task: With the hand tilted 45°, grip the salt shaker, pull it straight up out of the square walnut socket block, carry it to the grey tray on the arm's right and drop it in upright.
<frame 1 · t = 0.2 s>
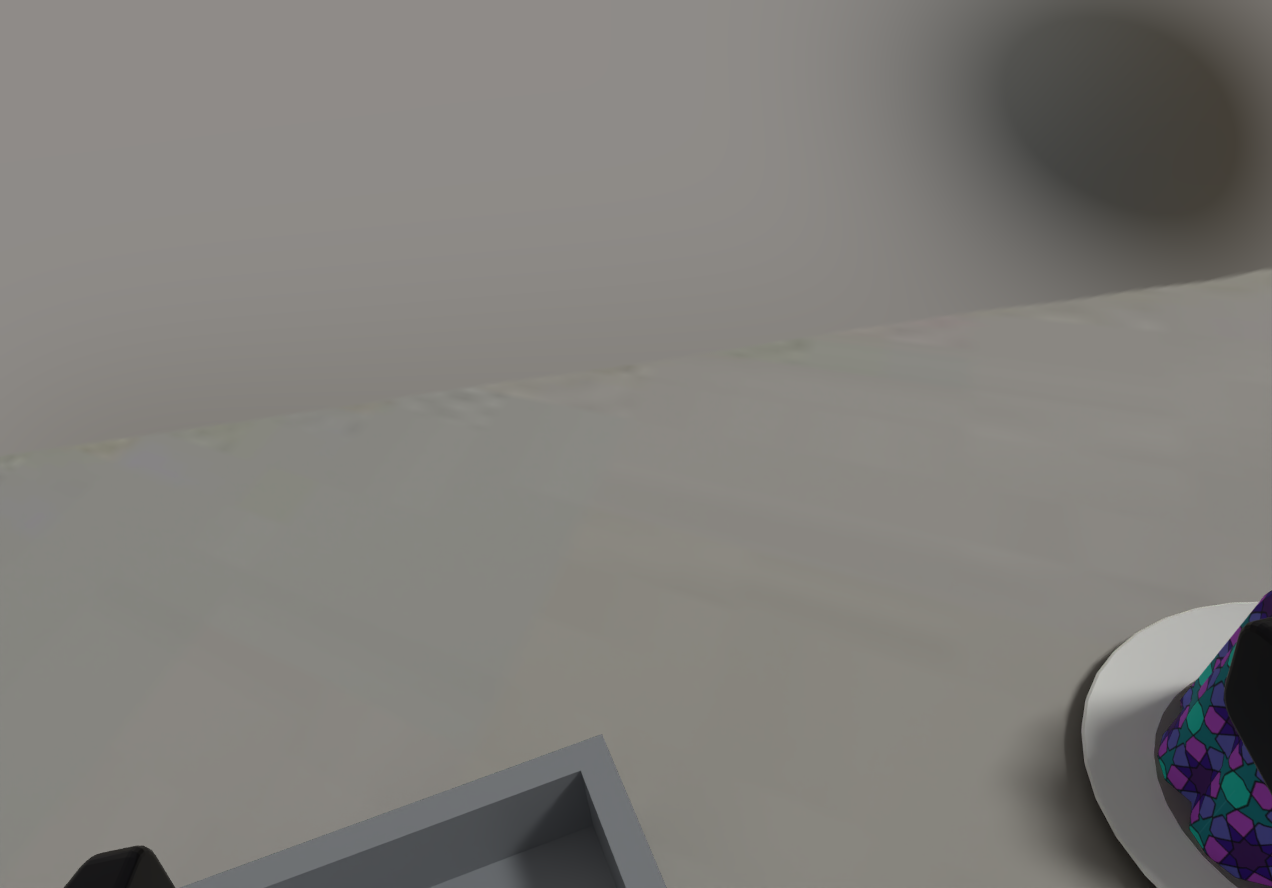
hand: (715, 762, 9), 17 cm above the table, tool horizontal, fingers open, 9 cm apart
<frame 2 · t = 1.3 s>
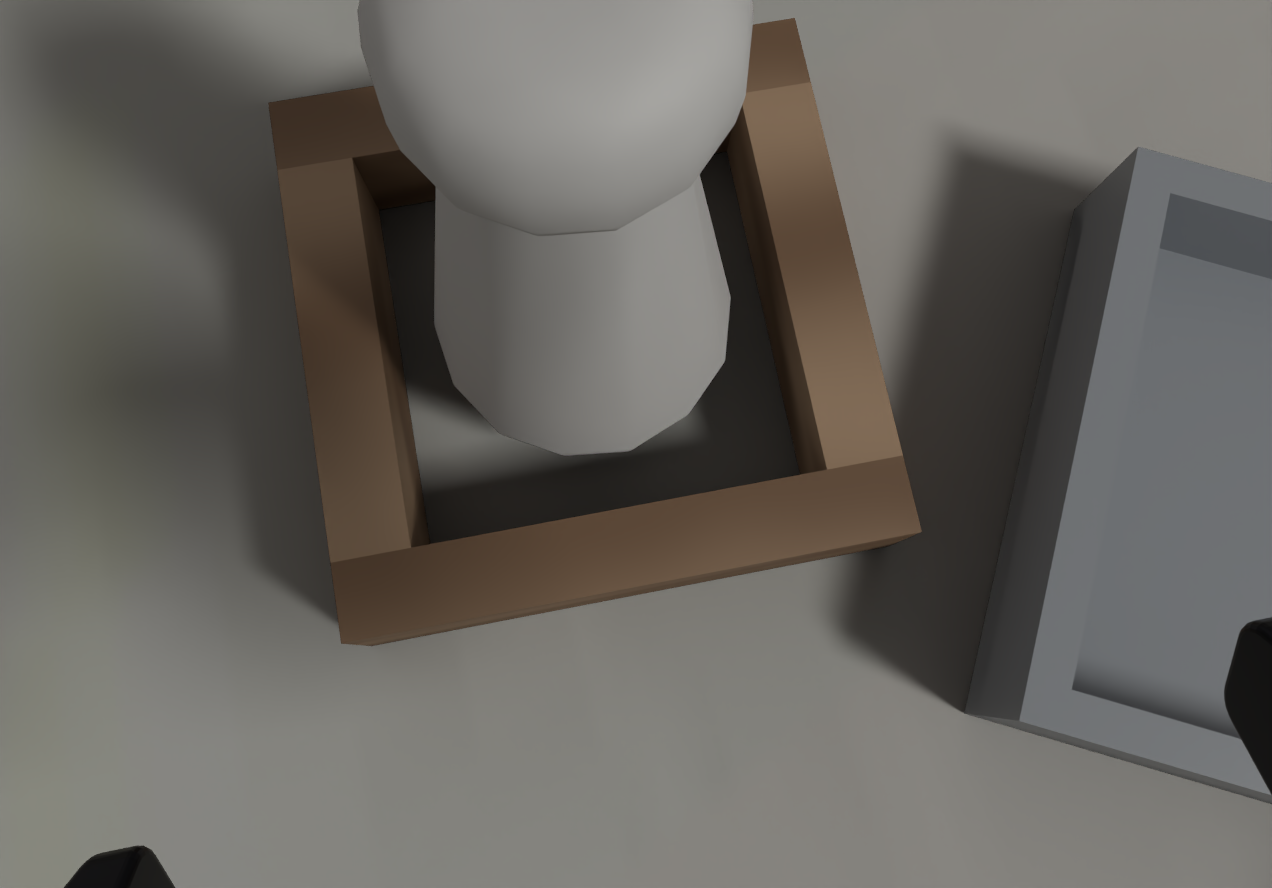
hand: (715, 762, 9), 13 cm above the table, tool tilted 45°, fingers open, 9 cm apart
salt shaker: (586, 349, 23), resting in walnut socket
walnut socket: (586, 346, 23), on the table
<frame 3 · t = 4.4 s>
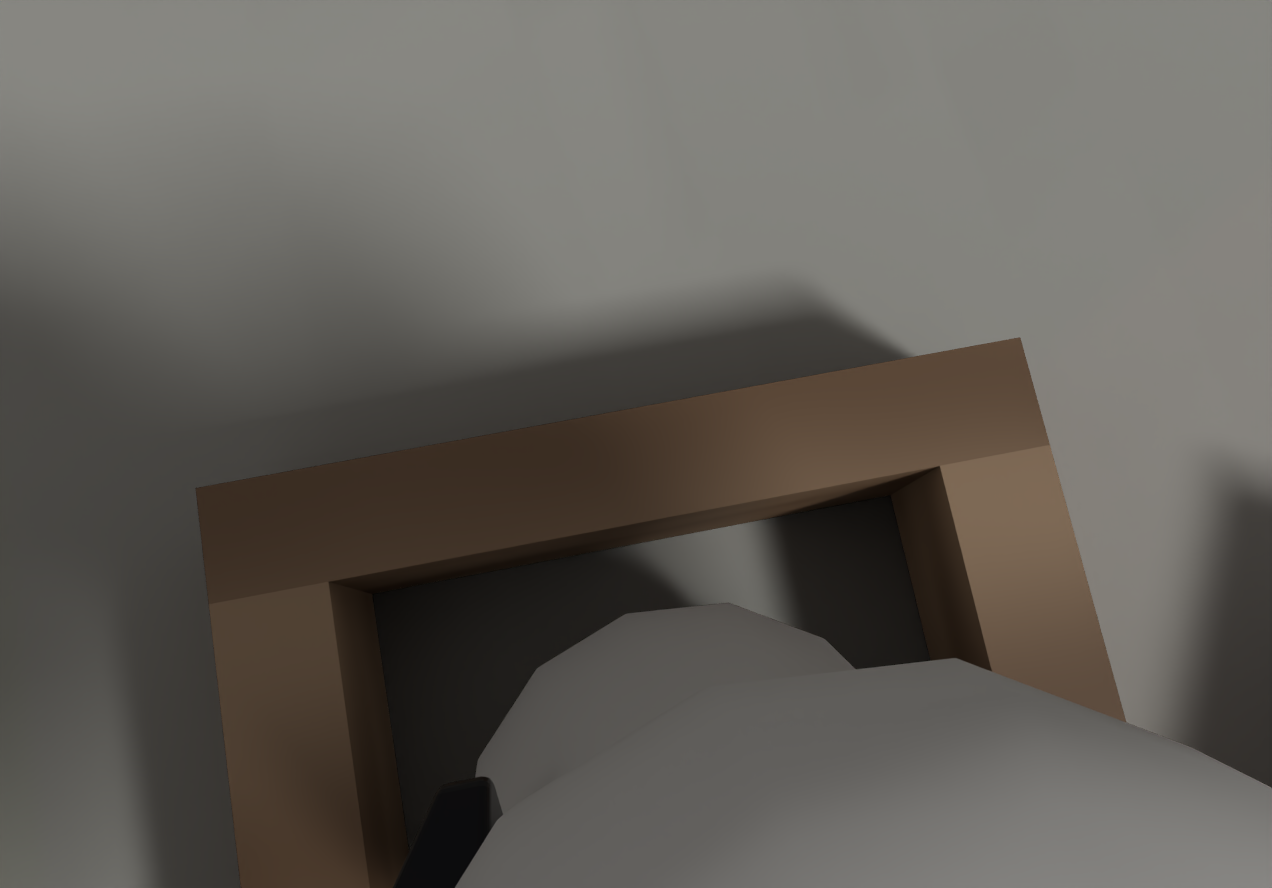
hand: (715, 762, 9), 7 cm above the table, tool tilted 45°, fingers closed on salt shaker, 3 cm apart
salt shaker: (686, 813, 15), resting in walnut socket, touching gripper
walnut socket: (687, 815, 15), on the table
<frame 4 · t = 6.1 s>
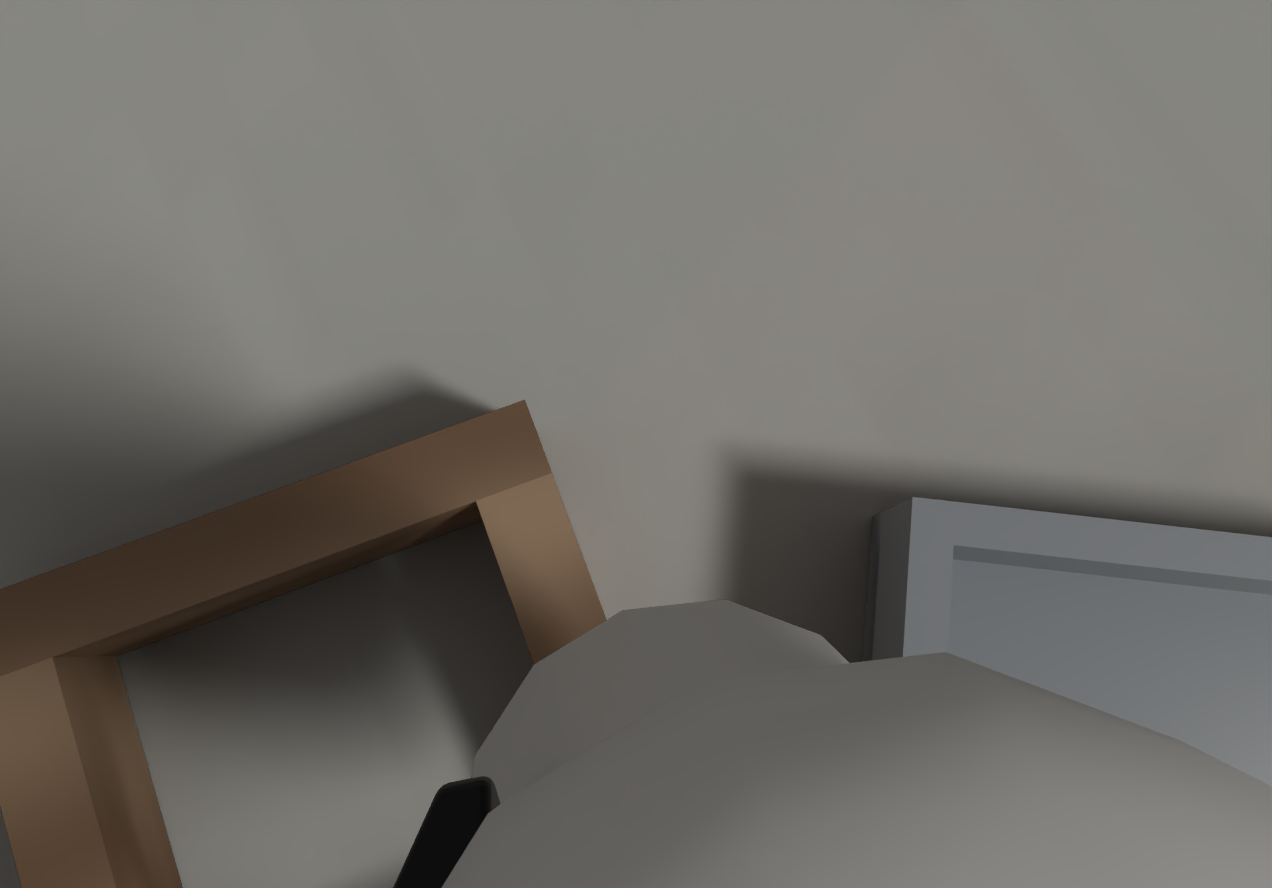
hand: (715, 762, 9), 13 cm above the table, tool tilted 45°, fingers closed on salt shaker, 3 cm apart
salt shaker: (683, 809, 16), point 6 cm above the table, touching gripper
walnut socket: (367, 774, 21), on the table
grey tray: (1139, 834, 21), on the table
when the fingers open (10 cm above the table, at t = 8.1 s): salt shaker drops 2 cm, resting on grey tray.
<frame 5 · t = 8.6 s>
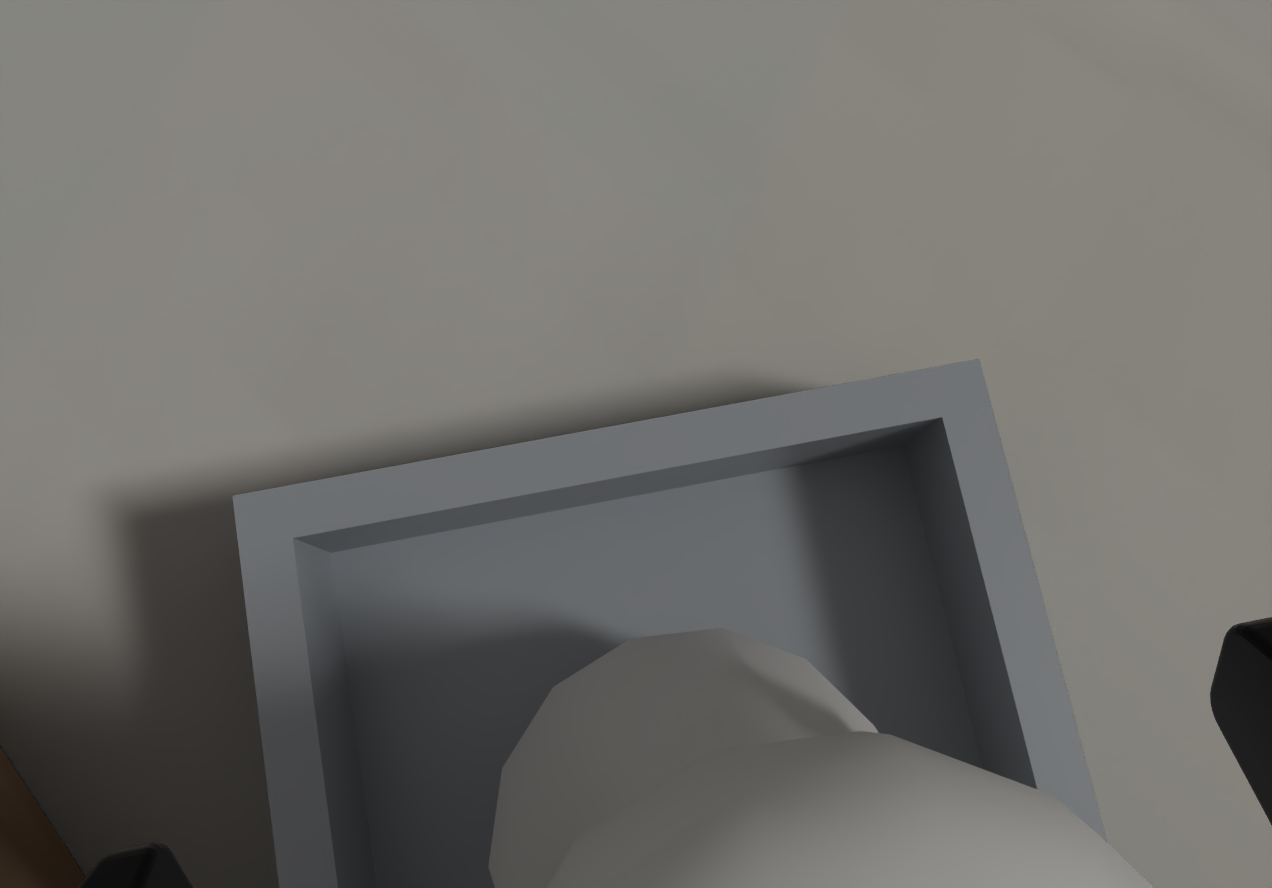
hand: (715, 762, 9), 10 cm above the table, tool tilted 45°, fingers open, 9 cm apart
salt shaker: (684, 810, 17), point 1 cm above the table, touching grey tray
grey tray: (676, 791, 18), on the table
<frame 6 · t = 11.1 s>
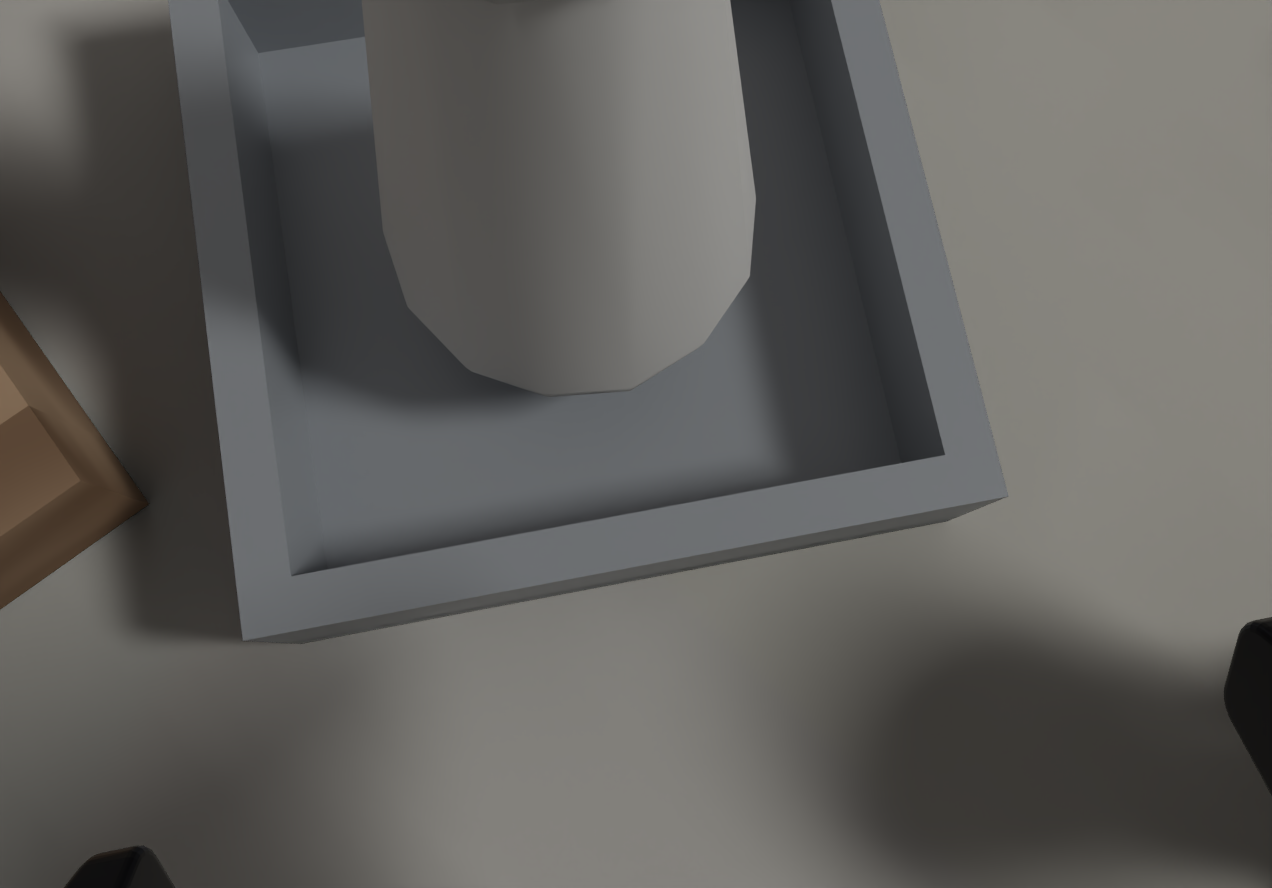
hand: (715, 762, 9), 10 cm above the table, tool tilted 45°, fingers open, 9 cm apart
salt shaker: (575, 274, 19), point 1 cm above the table, touching grey tray
grey tray: (572, 274, 20), on the table
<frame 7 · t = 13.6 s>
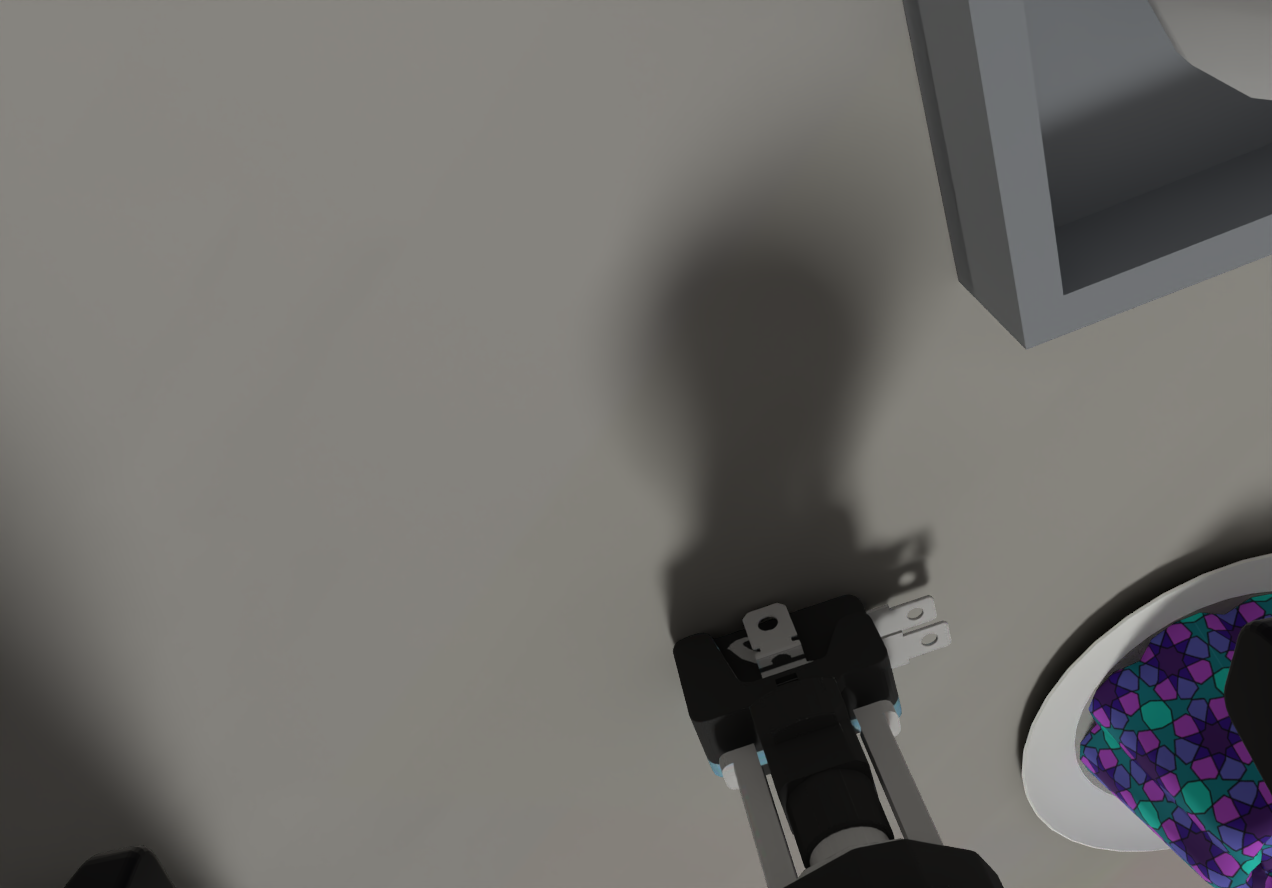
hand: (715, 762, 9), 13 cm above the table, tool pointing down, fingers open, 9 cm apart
push button: (795, 631, 27), on the table
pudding: (1205, 690, 31), on the table
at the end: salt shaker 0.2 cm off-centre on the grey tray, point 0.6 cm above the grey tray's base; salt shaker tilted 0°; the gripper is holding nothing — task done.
